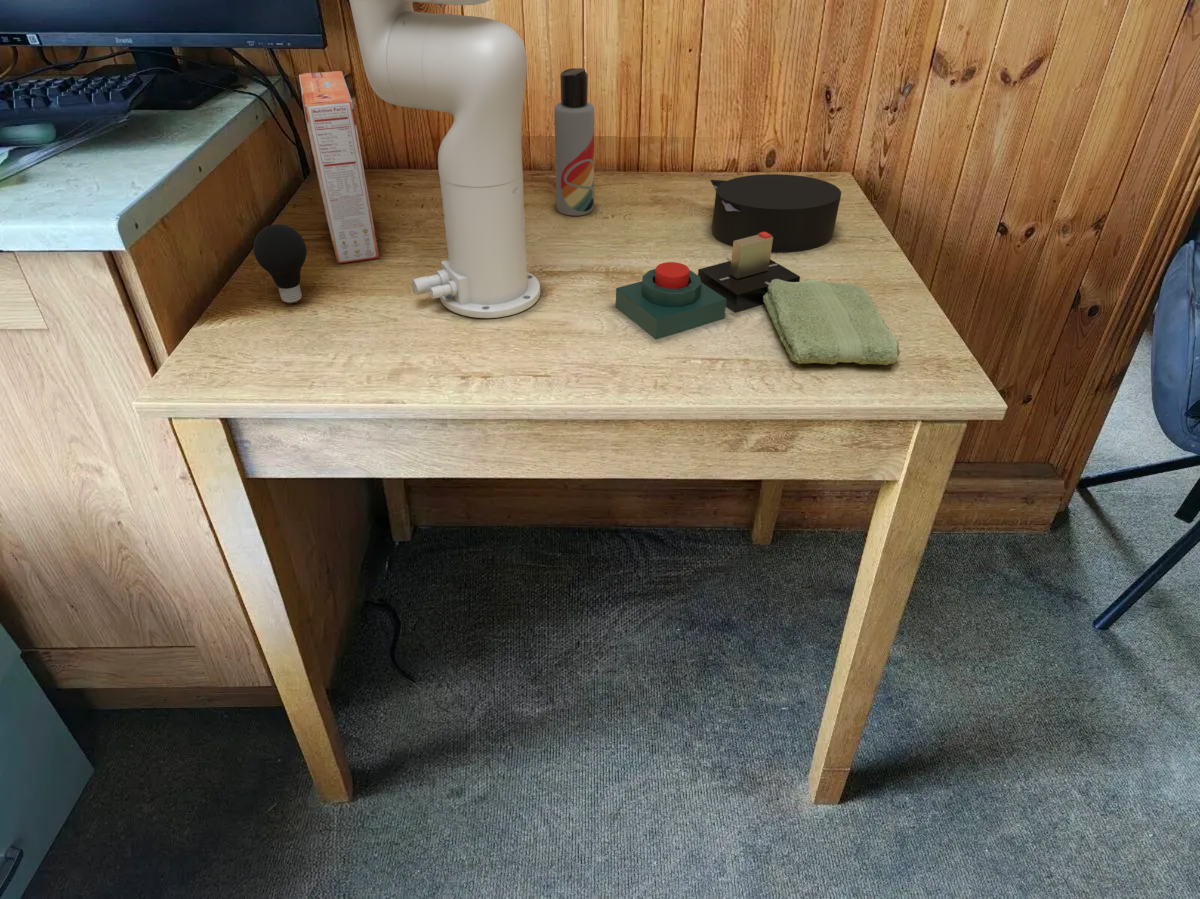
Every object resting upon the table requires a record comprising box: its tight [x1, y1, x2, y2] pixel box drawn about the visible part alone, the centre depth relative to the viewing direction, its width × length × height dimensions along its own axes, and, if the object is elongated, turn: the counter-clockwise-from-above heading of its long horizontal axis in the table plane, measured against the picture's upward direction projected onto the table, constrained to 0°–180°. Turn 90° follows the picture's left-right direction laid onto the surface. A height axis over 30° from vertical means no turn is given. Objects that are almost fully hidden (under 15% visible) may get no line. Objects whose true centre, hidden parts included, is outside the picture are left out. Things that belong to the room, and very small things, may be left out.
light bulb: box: [253, 223, 308, 305], centre depth 100 cm, size 6×6×10 cm
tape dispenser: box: [709, 173, 842, 253], centre depth 120 cm, size 14×18×8 cm
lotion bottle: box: [553, 67, 595, 217], centre depth 122 cm, size 6×6×20 cm
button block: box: [615, 268, 727, 340], centre depth 101 cm, size 10×9×4 cm
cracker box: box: [298, 70, 380, 264], centre depth 111 cm, size 14×6×21 cm, turn 18°
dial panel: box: [697, 257, 801, 314], centre depth 107 cm, size 10×9×3 cm
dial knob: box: [730, 232, 773, 279], centre depth 104 cm, size 5×2×5 cm, turn 121°
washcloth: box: [763, 279, 901, 366], centre depth 98 cm, size 13×18×3 cm
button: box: [655, 261, 690, 289], centre depth 99 cm, size 4×4×2 cm
